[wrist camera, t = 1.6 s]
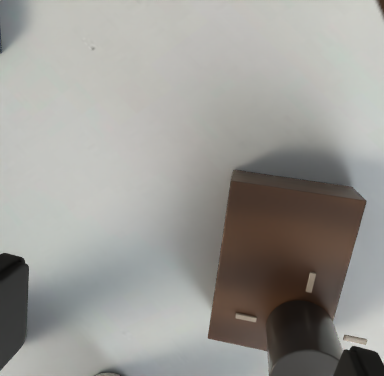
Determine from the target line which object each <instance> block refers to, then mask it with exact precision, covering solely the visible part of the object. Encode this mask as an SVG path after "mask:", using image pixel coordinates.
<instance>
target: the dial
mask: <svg viewBox="0 0 384 376" xmlns="http://www.w3.org/2000/svg"><path fill="white" fill-rule="evenodd" d="M266 334H267V352H268V369H269V376H333V375H334V372H335V370H336V367H337V365H338V362H339V360H340V357H341V355H342V353H343V350H342V347H341V344H340V341H339V338H338V335H337V332H336V330H335V327H334V324H333V321H332V319H331V317H330V316H329V314H328V313H327V312H326V311H325V310H324V309H323V308H321V307H320V306H318V305H316V304H314V303H311V302H308V301H301V300H296V301H289V302H286V303H283V304H281V305H279V306H278V307H276V308H275V309H274V310H273V311H272V312H271V314H270V315H269V317H268V319H267V323H266Z"/></svg>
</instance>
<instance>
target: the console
mask: <svg viewBox="0 0 384 376" xmlns="http://www.w3.org/2000/svg"><path fill="white" fill-rule="evenodd" d="M365 205H366V200H365V199H364V198H363V197H362V196H361V195H360V194H359V193H358V192H357V191H356V190H355V189H354V188H353V187H349V186H342V185H335V184H329V183H322V182H315V181H308V180H301V179H294V178H287V177H280V176H273V175H267V174H260V173H253V172H246V171H239V170H233V174H232V178H231V184H230V190H229V197H228V204H227V211H226V217H225V224H224V231H223V238H222V244H221V251H220V258H219V265H218V271H217V278H216V285H215V292H214V298H213V305H212V312H211V319H210V325H209V332H208V339H213V340H218V341H222V342H227V343H231V344H236V345H241V346H245V347H250V348H255V349H259V350H264V351H267V334H266V323H267V319H268V317H269V315H270V314H271V312H272V311H273V310H274V309H275V308H276V307H278V306H279V305H281V304H283V303H286V302H289V301H296V300H301V301H308V302H311V303H314V304H316V305H318V306H320V307H321V308H323V309H324V310H325V311H326V312H327V313H328V314H329V316H330V317H331V319H332V321H333V319H334V315H335V312H336V308H337V305H338V301H339V298H340V294H341V291H342V287H343V283H344V280H345V276H346V273H347V269H348V266H349V262H350V259H351V255H352V251H353V248H354V244H355V241H356V237H357V234H358V230H359V227H360V223H361V219H362V216H363V212H364V209H365ZM343 339H344V341H349V342H354V343H359V344H364V345H366V343H367V339H364V338H359V337H354V336H349V335H344V338H343Z"/></svg>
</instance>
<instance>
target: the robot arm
mask: <svg viewBox="0 0 384 376" xmlns="http://www.w3.org/2000/svg"><path fill="white" fill-rule="evenodd" d="M28 276H29V266H28V265H27V264H25V260H24V258H22V257H19V256H15V255H11V254H7V253H2V254H0V370H1V369H2V368H3V367H4V366H5V365H6V364H7V363H8V361H9V360H10V359H11V358H12V357H13V356H14V355H15V354H16V353H17V352H18V350H19V349H20V348H21V347H22V345H23V344H24V341H25V339H26V330H27V303H28ZM333 376H384V365H383V363H382V361H381V358H380V356H379V355H378V353H376V352H375V351H371V350H367V349H364V348H360V347H356V346H352V347H351V348H350V350H344V351H343V353H342V355H341V357H340V360H339V362H338V365H337V367H336V370H335V372H334V375H333Z"/></svg>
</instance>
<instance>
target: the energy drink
mask: <svg viewBox="0 0 384 376" xmlns="http://www.w3.org/2000/svg"><path fill="white" fill-rule="evenodd" d="M95 376H120V375H118V374H115V373H101V374H98V375H95Z"/></svg>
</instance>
